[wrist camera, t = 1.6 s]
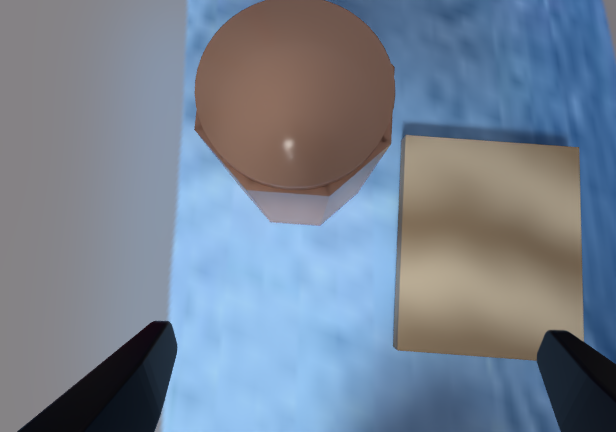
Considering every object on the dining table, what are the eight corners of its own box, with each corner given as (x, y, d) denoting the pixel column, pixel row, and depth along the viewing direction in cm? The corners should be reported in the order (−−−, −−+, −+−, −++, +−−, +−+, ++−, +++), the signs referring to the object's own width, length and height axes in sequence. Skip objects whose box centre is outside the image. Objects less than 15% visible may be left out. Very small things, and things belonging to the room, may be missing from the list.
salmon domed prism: (355, 228, 23) (393, 196, 13) (235, 219, 23) (180, 180, 13) (361, 114, 23) (401, 0, 14) (246, 105, 23) (203, -14, 14)
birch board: (571, 359, 22) (584, 364, 21) (393, 346, 22) (397, 350, 21) (567, 152, 23) (579, 147, 22) (401, 140, 23) (405, 134, 22)
